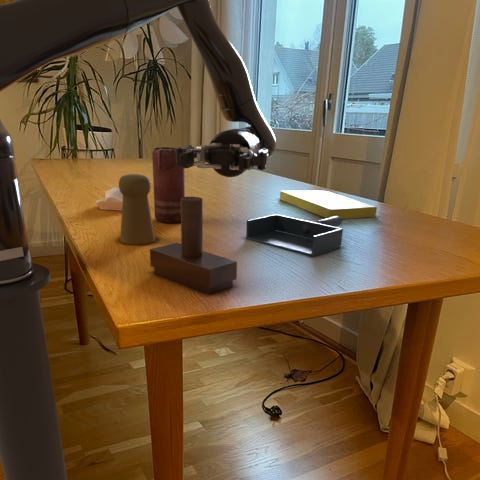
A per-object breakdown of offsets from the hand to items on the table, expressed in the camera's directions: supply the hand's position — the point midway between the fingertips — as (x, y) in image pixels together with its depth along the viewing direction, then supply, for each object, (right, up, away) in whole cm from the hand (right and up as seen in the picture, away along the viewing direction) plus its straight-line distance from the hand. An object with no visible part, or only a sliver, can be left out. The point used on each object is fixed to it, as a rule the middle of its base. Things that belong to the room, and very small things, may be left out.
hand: (212, 162), depth 70 cm
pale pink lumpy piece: (-23, +2, +38) cm, 44 cm away
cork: (-14, -9, +13) cm, 21 cm away
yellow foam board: (+25, +4, +46) cm, 52 cm away
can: (-10, -3, +28) cm, 30 cm away
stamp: (-3, -18, -4) cm, 18 cm away
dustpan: (+17, -8, +19) cm, 27 cm away
